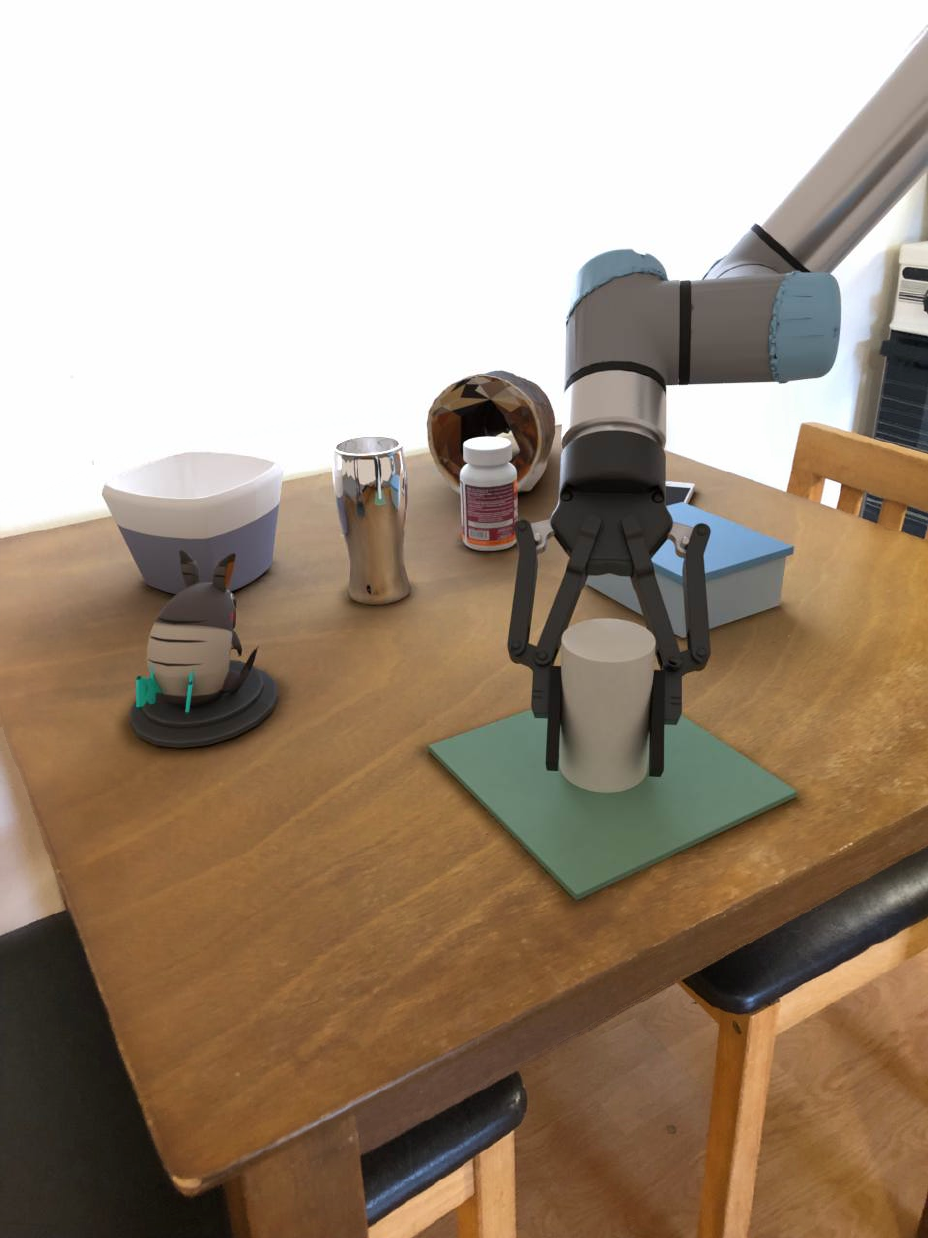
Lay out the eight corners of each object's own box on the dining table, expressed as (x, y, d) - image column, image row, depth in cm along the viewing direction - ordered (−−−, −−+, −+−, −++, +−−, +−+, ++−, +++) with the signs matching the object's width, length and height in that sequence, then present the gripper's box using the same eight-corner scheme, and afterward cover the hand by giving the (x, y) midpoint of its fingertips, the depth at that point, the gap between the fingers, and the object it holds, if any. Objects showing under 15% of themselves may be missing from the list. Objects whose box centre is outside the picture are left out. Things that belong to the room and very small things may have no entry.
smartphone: (695, 489, 117) (695, 482, 117) (673, 532, 104) (674, 524, 104) (638, 485, 119) (638, 477, 119) (610, 526, 107) (611, 518, 106)
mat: (796, 797, 62) (797, 791, 61) (576, 901, 54) (576, 894, 54) (623, 681, 76) (623, 676, 75) (428, 751, 68) (428, 745, 68)
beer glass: (360, 575, 97) (347, 432, 90) (423, 581, 95) (415, 436, 88) (333, 603, 91) (317, 453, 84) (400, 610, 89) (389, 457, 82)
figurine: (100, 741, 70) (66, 601, 65) (179, 665, 81) (154, 538, 75) (239, 757, 68) (215, 612, 63) (301, 676, 78) (285, 546, 73)
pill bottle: (527, 546, 102) (527, 445, 97) (476, 556, 100) (474, 454, 95) (502, 528, 107) (500, 431, 102) (453, 538, 105) (449, 440, 100)
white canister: (665, 774, 64) (675, 645, 59) (594, 804, 61) (599, 671, 56) (610, 733, 68) (615, 610, 64) (542, 759, 66) (543, 633, 61)
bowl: (201, 539, 107) (185, 445, 102) (312, 559, 101) (301, 459, 96) (101, 591, 95) (77, 487, 90) (220, 617, 89) (202, 506, 84)
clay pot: (573, 363, 131) (538, 364, 108) (581, 472, 135) (550, 496, 112) (472, 375, 136) (418, 378, 112) (482, 480, 139) (432, 505, 116)
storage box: (786, 606, 87) (794, 546, 84) (682, 641, 81) (687, 578, 79) (678, 555, 99) (682, 501, 96) (580, 583, 93) (581, 527, 90)
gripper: (739, 477, 70) (745, 787, 62) (487, 473, 72) (465, 771, 65) (757, 425, 63) (766, 769, 55) (477, 423, 65) (451, 751, 58)
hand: (603, 769), depth 60 cm, fingers closed on white canister, 6 cm apart
